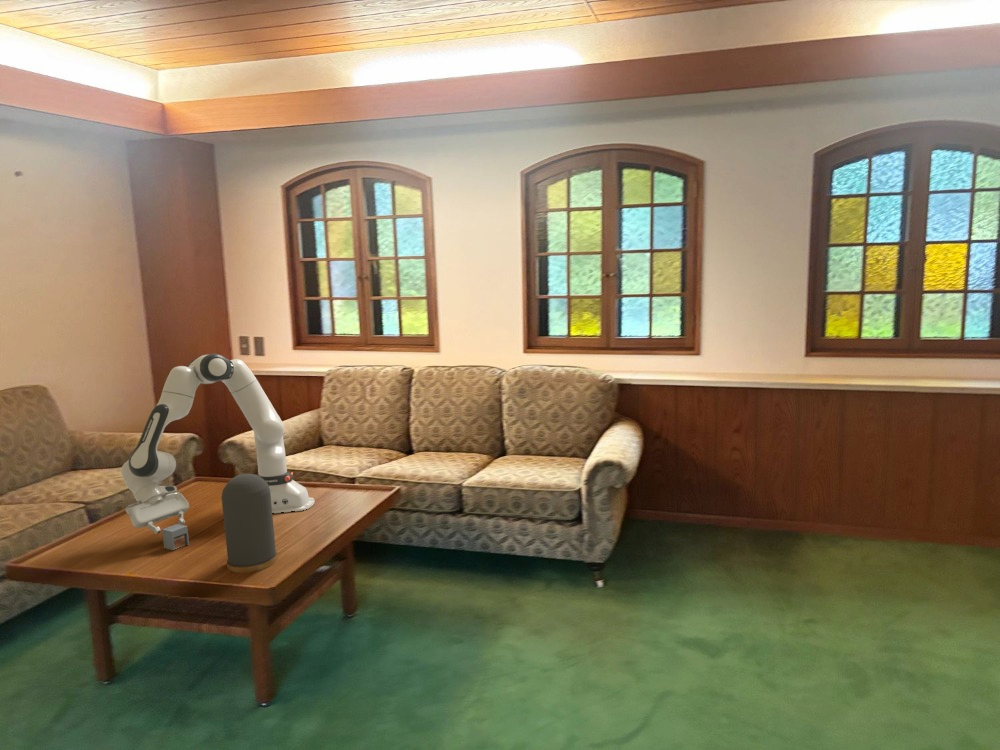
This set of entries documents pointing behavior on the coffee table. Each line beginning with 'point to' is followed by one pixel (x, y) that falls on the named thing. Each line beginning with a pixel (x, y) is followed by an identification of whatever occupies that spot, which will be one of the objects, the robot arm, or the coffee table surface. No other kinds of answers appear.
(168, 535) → the slate cover
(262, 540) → the decorative piece
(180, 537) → the letter cube
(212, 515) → the coffee table surface
